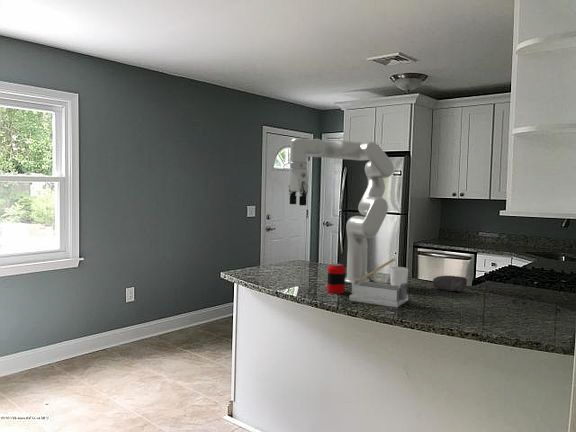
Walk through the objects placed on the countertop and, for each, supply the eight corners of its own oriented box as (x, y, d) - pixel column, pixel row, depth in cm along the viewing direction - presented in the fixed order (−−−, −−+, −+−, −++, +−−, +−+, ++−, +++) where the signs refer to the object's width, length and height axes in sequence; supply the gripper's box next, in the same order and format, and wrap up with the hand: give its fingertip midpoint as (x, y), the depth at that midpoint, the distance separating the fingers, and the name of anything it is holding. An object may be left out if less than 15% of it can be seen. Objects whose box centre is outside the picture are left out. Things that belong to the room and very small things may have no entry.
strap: (360, 281, 207) (358, 279, 207) (396, 260, 199) (394, 257, 199) (356, 283, 204) (355, 281, 204) (392, 261, 195) (391, 259, 196)
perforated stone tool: (430, 289, 225) (430, 274, 224) (434, 287, 229) (434, 272, 228) (463, 294, 216) (464, 278, 215) (467, 292, 220) (467, 276, 220)
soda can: (343, 294, 211) (344, 266, 210) (326, 293, 212) (326, 265, 211) (345, 290, 218) (346, 263, 217) (328, 289, 220) (328, 262, 219)
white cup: (396, 292, 216) (396, 270, 215) (386, 289, 223) (386, 267, 222) (411, 291, 219) (412, 269, 218) (400, 288, 226) (401, 266, 225)
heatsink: (359, 293, 213) (360, 275, 212) (410, 300, 202) (411, 281, 201) (346, 300, 201) (347, 280, 200) (399, 307, 190) (400, 287, 189)
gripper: (315, 166, 214) (314, 205, 215) (297, 167, 230) (296, 203, 231) (299, 165, 211) (299, 205, 212) (282, 166, 226) (282, 203, 228)
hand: (297, 204), depth 221 cm, fingers open, 9 cm apart
